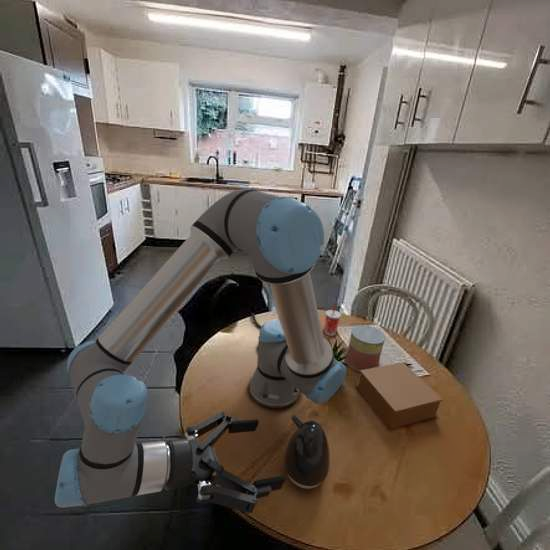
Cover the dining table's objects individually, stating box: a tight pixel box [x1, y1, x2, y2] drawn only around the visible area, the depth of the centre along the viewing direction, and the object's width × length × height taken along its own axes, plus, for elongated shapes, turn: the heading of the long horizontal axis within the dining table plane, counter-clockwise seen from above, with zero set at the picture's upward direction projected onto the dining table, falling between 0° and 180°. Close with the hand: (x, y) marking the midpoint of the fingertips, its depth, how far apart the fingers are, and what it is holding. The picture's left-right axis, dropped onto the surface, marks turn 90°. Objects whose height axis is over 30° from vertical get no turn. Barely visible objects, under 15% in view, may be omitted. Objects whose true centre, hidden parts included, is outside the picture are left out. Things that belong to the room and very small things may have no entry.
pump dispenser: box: [283, 414, 331, 490], centre depth 68 cm, size 10×10×15 cm
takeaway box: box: [357, 361, 444, 430], centre depth 93 cm, size 17×17×7 cm
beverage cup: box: [324, 301, 342, 337], centre depth 125 cm, size 6×6×14 cm
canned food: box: [345, 324, 386, 373], centre depth 109 cm, size 11×11×12 cm
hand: (268, 451), depth 65 cm, fingers open, 13 cm apart
